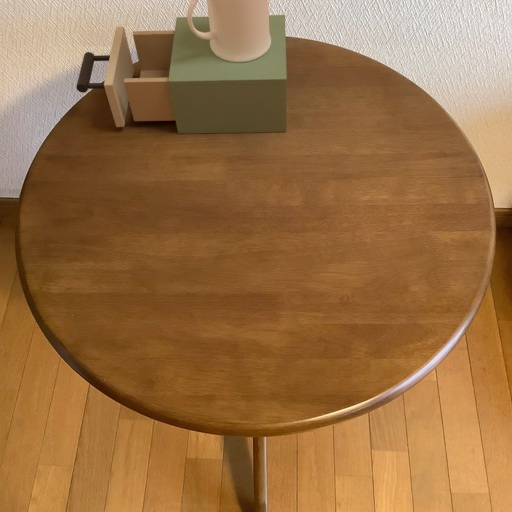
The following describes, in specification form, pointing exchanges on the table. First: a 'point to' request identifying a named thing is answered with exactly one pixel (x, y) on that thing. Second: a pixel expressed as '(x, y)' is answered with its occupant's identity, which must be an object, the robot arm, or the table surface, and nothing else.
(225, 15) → the mug
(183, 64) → the cabinet
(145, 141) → the table surface
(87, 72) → the drawer
